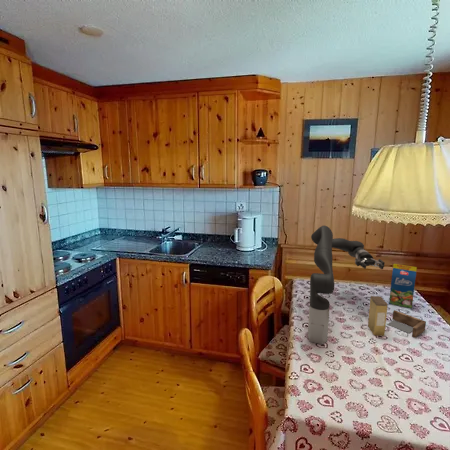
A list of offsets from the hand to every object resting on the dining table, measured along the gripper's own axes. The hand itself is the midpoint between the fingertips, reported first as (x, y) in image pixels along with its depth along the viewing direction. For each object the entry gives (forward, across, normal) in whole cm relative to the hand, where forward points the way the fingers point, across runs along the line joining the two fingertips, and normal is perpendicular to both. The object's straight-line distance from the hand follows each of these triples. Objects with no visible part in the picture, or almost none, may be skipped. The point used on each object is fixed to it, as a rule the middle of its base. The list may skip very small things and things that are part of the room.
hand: (373, 267), depth 160 cm
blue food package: (-21, +26, +31) cm, 46 cm away
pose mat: (+6, +14, +30) cm, 34 cm away
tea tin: (+12, 0, +30) cm, 32 cm away
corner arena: (+7, +15, +30) cm, 34 cm away
